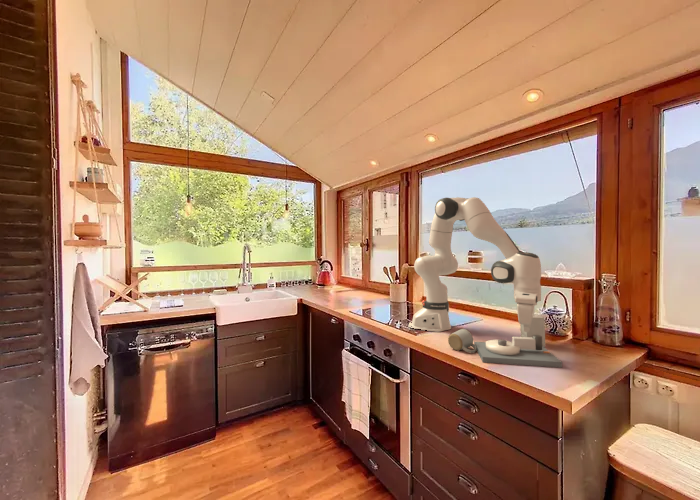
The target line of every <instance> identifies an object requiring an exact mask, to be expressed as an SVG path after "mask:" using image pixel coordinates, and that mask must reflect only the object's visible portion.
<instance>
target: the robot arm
mask: <svg viewBox="0 0 700 500" xmlns="http://www.w3.org/2000/svg"><path fill="white" fill-rule="evenodd" d="M456 221H460V222H462V221H463V222H465V225H466V226H467V228H468V230H469V232H470V233H471V235H473V237H475V238H477V239H479V240H482V241H485V242H488V243H490V244H492V245H495V246H496V247H497V248H498V249H499V251H500V252H501V254H503V256H504V257H505V258H504V259H501V260H498V261H495V262H494V263H493V264H492V266H491V269H490V275H491V277H492V279H493V281H495V282H496V283H498V284H502V285H503V284H504V285H507V284H513V299H514V302H515V303H516V310H517V311H516V312H517V318H518V323H519V325H520V324H522V325H524V331H525V332H529V331H530V325H531V322H532V319H533V316H534V314H535V306H537V305H538V303H539V302H541V301H542V286H541V279H542V265H541V264H542V263H541V259H540V257H539V256H538V255H537V254H536V253H533V252H527V251H526V252H525V251H521V250H520V249H519V248H518V246H517V245H516V243H515V242H514V241H513V239H512V238H511V237H510V235H509V234H508V233H507V232H506V230H504V228H502V226H501V225H500V224H499V223H498V222H497V221H496V219H495V218H494V216H493V215H492V213H491V211H490V210H489V208H488V207H487V205H486V204H485V203H484V201H482V200H481V198H480V197H479V198H478V197H475V196H474V197H469V198H465V197H458V196H457V197H442V198H440V199H438V200H437V202H436V204H435V207H434V215H433V218H432V221H431V225H430V231H429V241H428V243H429V245H430V246H431V248H432V249H434V255H424V256H420V257H417V258H416V260H415V261H414V264H413V268H414V272H415V273H416V274H417V275H418V276H420V278H421V279H422V281H423V283H424V287H425V295H426V299H425V300H424V299H423V300H422V301H421V305H422V308H420V309H419V310H418V311H416V312H415V313H414V314H413V316H412V321H410V322H409V323H408V328H409V327H411V326H412V327H411V328H414V329H421V330H420V331H425V330H427V332H436V333H441V332H443V331H447V330H448V331H449V330H451V329H452V325H451V322H450V321H451V320H450V316H449V312H450V304H449V301H448V300H449V299H448V298H449V297H448V287H447V285H446V284H445V283H443V282H442V281H441V279H440V276H449V275H451V274H454V273H456V272H457V270H458V267H459V262H458V260H457V258H456V257H455V256H454V255H453V253H452V252H453V251H452V245H451V244H452V237H453V231H454V230H453V229H454V224H455V222H456ZM411 322H412V323H411ZM414 329H413V330H414Z"/></svg>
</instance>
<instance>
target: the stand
mask: <svg viewBox="0 0 700 500" xmlns="http://www.w3.org/2000/svg"><path fill="white" fill-rule="evenodd" d="M473 344H474V345H475V346H476V352H477V354H478V356H479V358H480V360H481V362H482V363H491V364H503V365H517V366H519V365H520V366H531V367H532V366H533V367H547V368H548V367H549V368H550V367H551V368H563V362H562V361H561V360H560V359H559V358H558V357H556V355H554V354H553V353H552V352H551V351H550V350H548V349H547V348H546V347H543V346H542V350H531V349H520V353H519V354H517V355H501V354H496V353H493V352H490V351H488V350H487V349H486V341H473Z"/></svg>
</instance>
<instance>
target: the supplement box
mask: <svg viewBox="0 0 700 500" xmlns="http://www.w3.org/2000/svg"><path fill="white" fill-rule="evenodd" d="M545 318H546V317H544V316H542V315H540V314H537V313H534V316H533V319H532V322H531V325H530V331H529V332H525V331H524V325H522V324H519V325H520V327H519V329H520V337H532V335H540V336H542V346H543V347H544V348H546V328H545V327H546V325H545V323H546V320H545Z"/></svg>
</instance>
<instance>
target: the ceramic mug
mask: <svg viewBox="0 0 700 500" xmlns="http://www.w3.org/2000/svg"><path fill="white" fill-rule="evenodd" d="M447 340H448V345H449V347H450V348H451V349H452V350H454V351H461V350H463V351H464V352H466V353H469V354H475V352H477V350H476V346H475V345H474V337H473V335H472V333H471V332H470V331H469V330H467V329H465V328H461V329H459V330H456V331H455V332H452V333H451V334H449V336H448V338H447ZM470 347H472V348H473V349H469V348H470Z"/></svg>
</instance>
